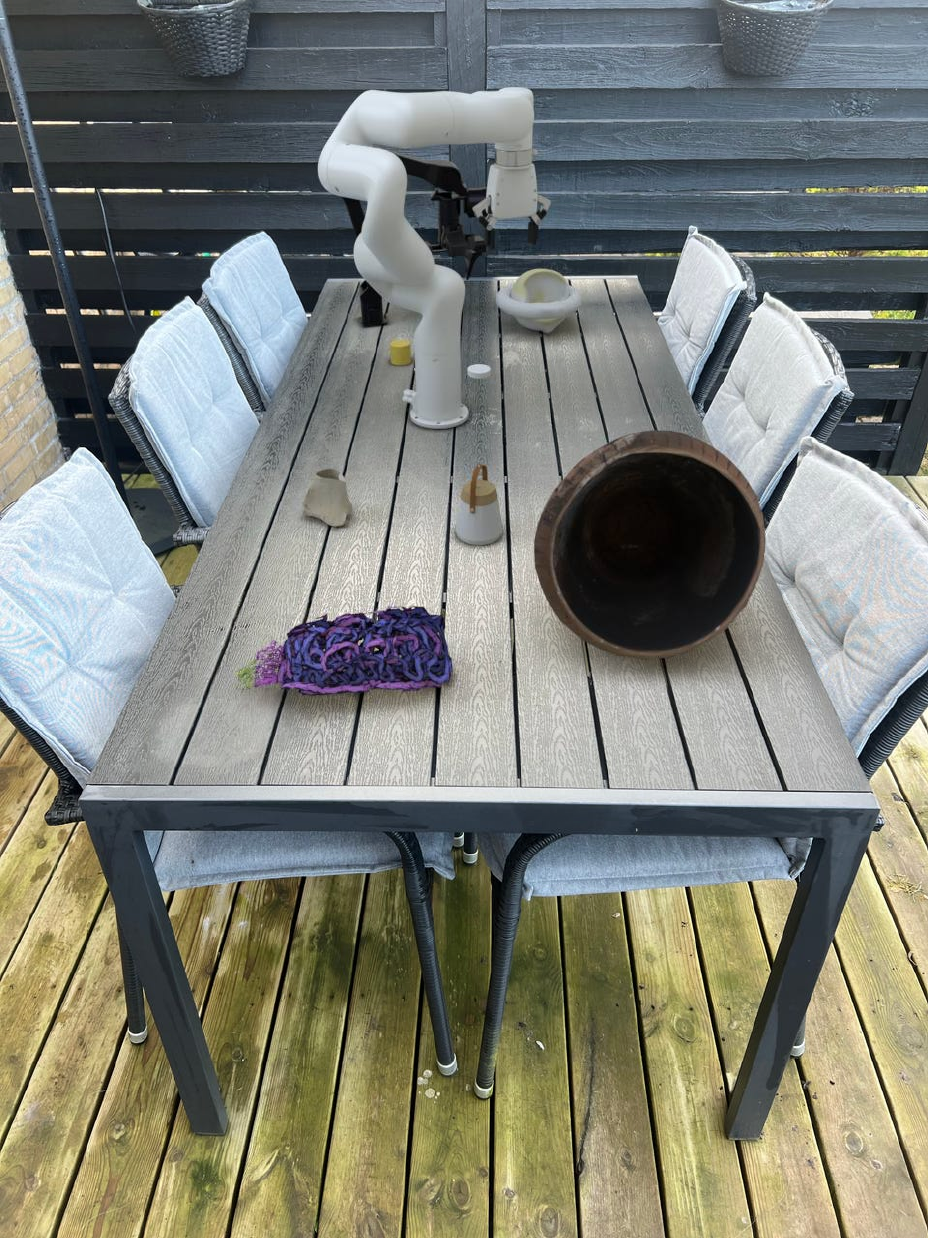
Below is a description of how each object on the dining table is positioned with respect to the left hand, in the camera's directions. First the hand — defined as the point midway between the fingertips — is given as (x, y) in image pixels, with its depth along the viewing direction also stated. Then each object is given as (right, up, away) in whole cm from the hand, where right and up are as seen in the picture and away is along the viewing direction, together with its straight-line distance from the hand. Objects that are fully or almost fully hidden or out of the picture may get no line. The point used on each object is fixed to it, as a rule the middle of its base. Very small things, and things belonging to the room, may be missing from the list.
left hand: (450, 281), depth 242 cm
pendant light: (+6, -73, -79) cm, 108 cm away
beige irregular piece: (-21, -70, -75) cm, 105 cm away
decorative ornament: (-13, -97, -111) cm, 148 cm away
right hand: (+14, -8, -43) cm, 46 cm away
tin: (-12, -26, -17) cm, 33 cm away
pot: (+30, -86, -97) cm, 133 cm away
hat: (+23, -13, -1) cm, 26 cm away
